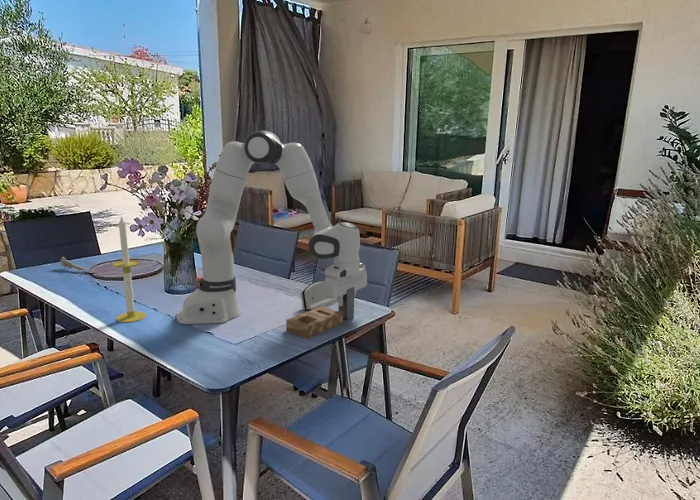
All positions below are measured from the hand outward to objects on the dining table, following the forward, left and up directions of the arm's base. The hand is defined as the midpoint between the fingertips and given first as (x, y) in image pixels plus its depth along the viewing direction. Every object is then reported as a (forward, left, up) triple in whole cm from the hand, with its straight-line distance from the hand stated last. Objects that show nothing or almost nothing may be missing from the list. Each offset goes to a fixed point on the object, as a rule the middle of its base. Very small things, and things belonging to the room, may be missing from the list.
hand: (346, 303), depth 178 cm
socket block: (-13, -5, -6) cm, 15 cm away
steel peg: (0, 0, -6) cm, 6 cm away
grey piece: (-6, +16, -6) cm, 18 cm away
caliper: (-105, +88, -6) cm, 137 cm away
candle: (-75, +21, -6) cm, 78 cm away
